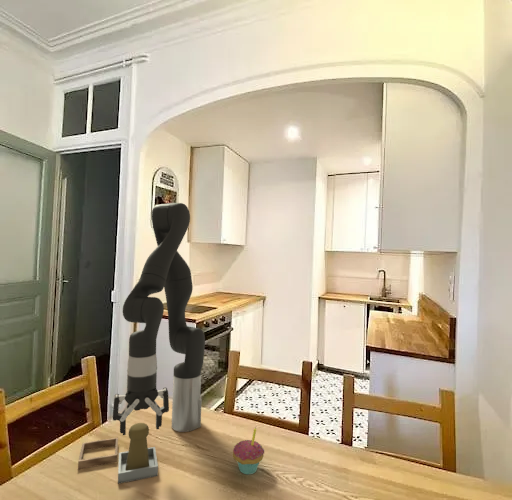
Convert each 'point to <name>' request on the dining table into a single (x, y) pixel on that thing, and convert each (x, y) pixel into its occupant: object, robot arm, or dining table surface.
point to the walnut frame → (98, 460)
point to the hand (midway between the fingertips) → (140, 430)
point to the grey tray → (137, 473)
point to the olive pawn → (138, 447)
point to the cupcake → (248, 455)
